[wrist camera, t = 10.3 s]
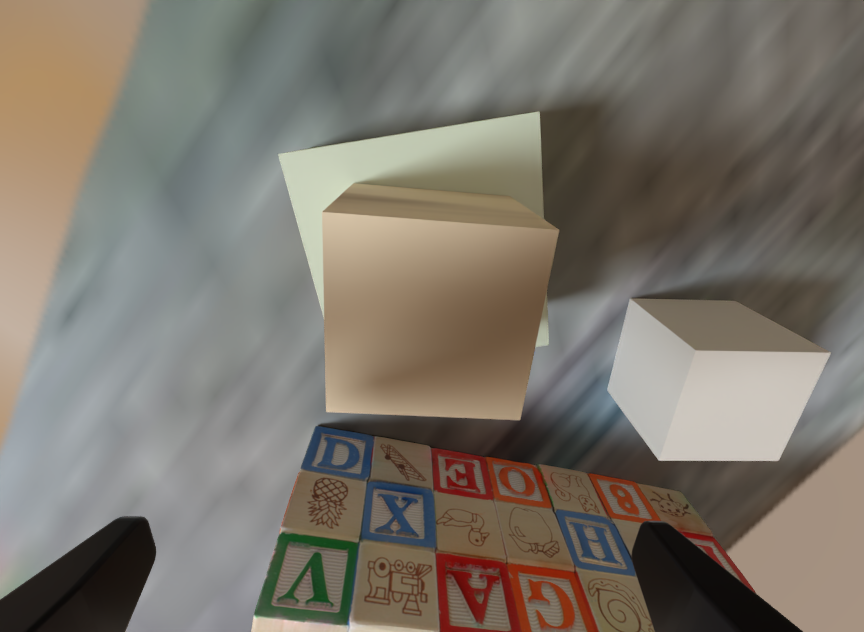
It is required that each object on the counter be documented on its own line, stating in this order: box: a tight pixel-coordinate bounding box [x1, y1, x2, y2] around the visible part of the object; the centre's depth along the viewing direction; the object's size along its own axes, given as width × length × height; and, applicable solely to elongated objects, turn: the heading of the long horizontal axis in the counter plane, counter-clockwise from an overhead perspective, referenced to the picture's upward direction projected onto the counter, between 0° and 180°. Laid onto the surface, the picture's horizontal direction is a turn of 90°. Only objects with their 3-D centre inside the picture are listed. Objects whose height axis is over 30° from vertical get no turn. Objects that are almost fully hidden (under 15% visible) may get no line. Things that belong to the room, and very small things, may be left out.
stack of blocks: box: [251, 426, 755, 632], centre depth 19 cm, size 21×6×12 cm, turn 75°
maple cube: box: [322, 183, 559, 420], centre depth 12 cm, size 5×5×5 cm
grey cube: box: [607, 298, 831, 461], centre depth 18 cm, size 5×5×5 cm
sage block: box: [278, 112, 549, 347], centre depth 16 cm, size 8×8×4 cm
